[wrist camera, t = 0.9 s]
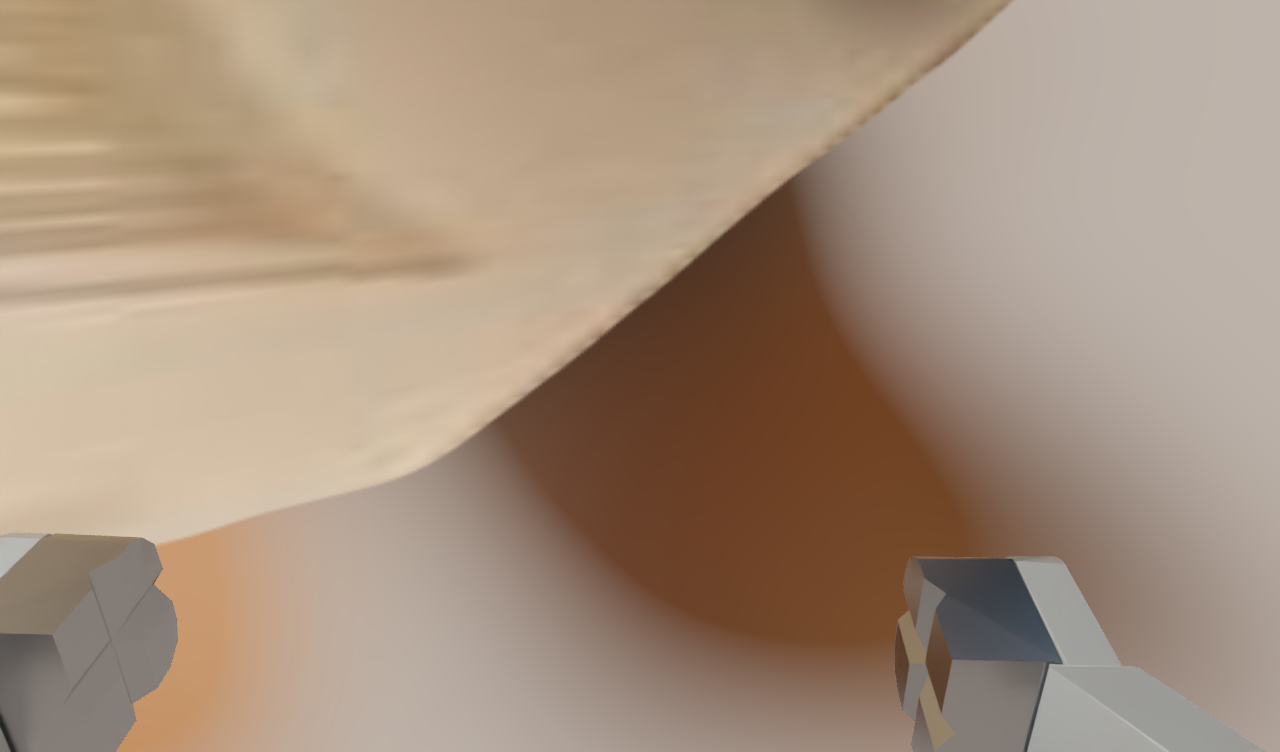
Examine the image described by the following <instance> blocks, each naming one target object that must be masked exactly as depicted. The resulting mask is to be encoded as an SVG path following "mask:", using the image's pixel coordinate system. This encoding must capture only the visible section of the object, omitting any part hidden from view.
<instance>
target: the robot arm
mask: <svg viewBox="0 0 1280 752" xmlns="http://www.w3.org/2000/svg"><path fill="white" fill-rule="evenodd" d="M162 569H163V568H162V565H161V562H160V560H159V556H158V553H157V551H156V548H155V545H154V544H153V543H151V542H149V541H147V540H146V539H144V538H138V537H116V536H95V535H73V534H54V535H52V534H41V533H9V534H5V535H2V536H0V752H116V750H117V749H118V747H119V746H120V744H121V743H122V741H123V740H124V738H125V737H126V735H127V733H128V732H129V731H130V729H131V728H132V726H133V725H134V723H135V722H136V717H135V712H134V708H133V703H134V702H136V701H137V700H139V699H141V698H142V697H144V696H145V695H147V694H149V693H150V692H152V691H153V690H155V689H156V688H157V687H158V686H159V684H160V683H161V681H162V680H163V678H164V676H165V675H166V673H167V671H168V670H169V668H170V666H171V663H172V659H173V655H174V651H175V648H176V644H177V640H178V639H177V617H176V614H175V610H174V606H173V603H172V601H171V600H170V599H169V598H168V597H167V596H166V595H165V594H163V593H162V592H161V591H160V590H159V589H158V588H157V587H156V586H155V585H154V583H155V581H156V579H157V578H158V576H159V574H160V573H161V571H162ZM903 589H904V593H905V596H906V600H907V603H908V607H909V610H908V611H907V612H906V613H905V614H904V615H903V616H902V617H901V618H900V619H899V620H898V622H897V631H896V639H895V675H896V682H897V689H898V694H899V698H900V702H901V706H902V710H903V711H904V712H905V713H906V714H907V715H908V716H910V717H911V718H912V719H913V720H914V721H915V725H914V731H913V737H912V743H911V745H912V749H913V752H1265V751H1264V750H1262V749H1261V748H1259V747H1258V746H1256V745H1255V744H1253V743H1252V742H1250V741H1249V740H1247V739H1245V738H1244V737H1242V736H1241V735H1239V734H1238V733H1236V732H1235V731H1233V730H1232V729H1230V728H1229V727H1227V726H1226V725H1224V724H1223V723H1221V722H1220V721H1218V720H1217V719H1215V718H1214V717H1212V716H1211V715H1209V714H1208V713H1206V712H1205V711H1203V710H1202V709H1200V708H1199V707H1197V706H1196V705H1194V704H1193V703H1191V702H1190V701H1188V700H1187V699H1185V698H1184V697H1182V696H1181V695H1179V694H1178V693H1176V692H1175V691H1173V690H1172V689H1170V688H1168V687H1167V686H1165V685H1164V684H1162V683H1161V682H1159V681H1158V680H1156V679H1155V678H1153V677H1152V676H1150V675H1149V674H1147V673H1146V672H1144V671H1143V670H1141V669H1140V668H1138V667H1124V666H1122V665H1121V663H1120V661H1119V659H1118V658H1117V656H1116V654H1115V652H1114V650H1113V649H1112V647H1111V645H1110V644H1109V642H1108V640H1107V638H1106V636H1105V635H1104V633H1103V631H1102V629H1101V627H1100V626H1099V624H1098V622H1097V620H1096V618H1095V617H1094V615H1093V613H1092V612H1091V610H1090V608H1089V606H1088V604H1087V602H1086V601H1085V599H1084V597H1083V595H1082V594H1081V592H1080V590H1079V588H1078V587H1077V585H1076V583H1075V581H1074V579H1073V578H1072V576H1071V574H1070V573H1069V570H1068V569H1067V567H1066V565H1065V563H1064V562H1063V561H1061V560H1060V559H1058V558H1057V557H1007V558H964V557H963V558H962V557H910V559H909V562H908V564H907V567H906V571H905V578H904V583H903Z"/></svg>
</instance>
